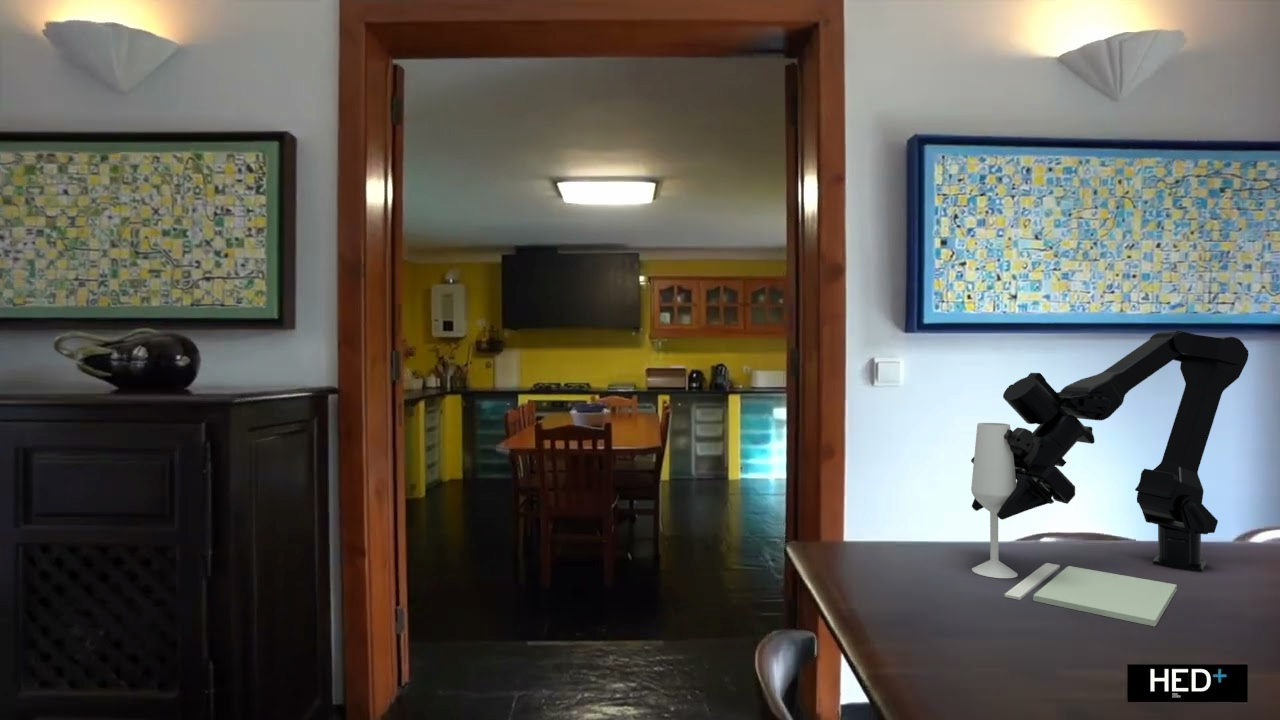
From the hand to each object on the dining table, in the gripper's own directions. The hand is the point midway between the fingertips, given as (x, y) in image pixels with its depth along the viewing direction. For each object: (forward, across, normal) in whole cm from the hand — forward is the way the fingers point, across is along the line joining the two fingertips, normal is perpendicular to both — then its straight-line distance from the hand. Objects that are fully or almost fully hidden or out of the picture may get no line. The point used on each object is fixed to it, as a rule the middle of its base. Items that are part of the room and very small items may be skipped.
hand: (986, 513), depth 112 cm
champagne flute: (+6, 0, +8) cm, 10 cm away
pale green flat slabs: (0, +11, +13) cm, 18 cm away
